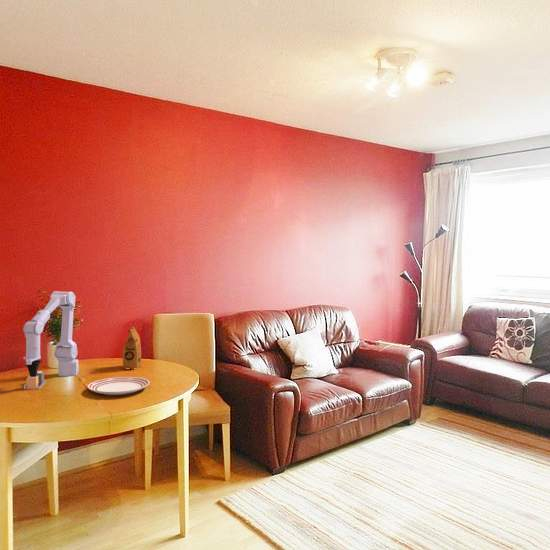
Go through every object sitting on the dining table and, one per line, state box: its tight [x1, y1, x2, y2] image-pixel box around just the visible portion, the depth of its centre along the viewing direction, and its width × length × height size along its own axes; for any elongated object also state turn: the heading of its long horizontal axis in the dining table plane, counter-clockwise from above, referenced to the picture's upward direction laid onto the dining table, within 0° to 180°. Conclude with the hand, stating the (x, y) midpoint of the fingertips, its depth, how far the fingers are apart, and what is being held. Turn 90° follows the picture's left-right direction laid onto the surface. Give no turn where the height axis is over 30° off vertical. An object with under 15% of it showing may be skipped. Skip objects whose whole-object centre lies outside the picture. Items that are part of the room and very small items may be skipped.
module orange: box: [25, 375, 38, 390], centre depth 216 cm, size 4×4×5 cm
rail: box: [23, 379, 47, 391], centre depth 220 cm, size 6×12×3 cm, turn 12°
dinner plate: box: [87, 376, 150, 396], centre depth 221 cm, size 28×27×3 cm
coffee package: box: [122, 326, 142, 370], centre depth 262 cm, size 10×12×22 cm
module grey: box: [36, 370, 45, 384], centre depth 224 cm, size 4×4×5 cm
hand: (33, 376), depth 216 cm, fingers closed, pressing on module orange
